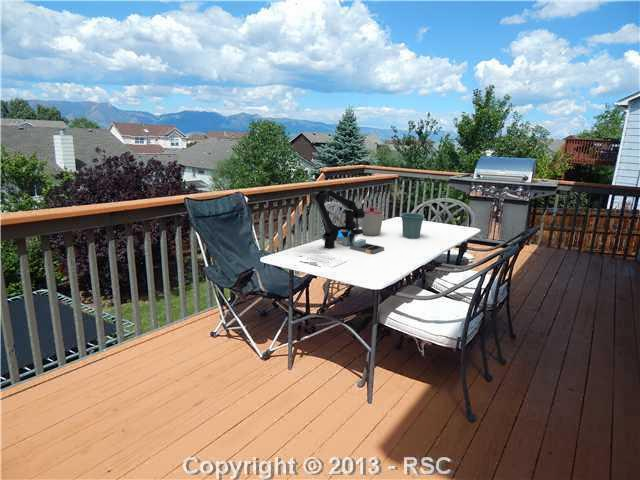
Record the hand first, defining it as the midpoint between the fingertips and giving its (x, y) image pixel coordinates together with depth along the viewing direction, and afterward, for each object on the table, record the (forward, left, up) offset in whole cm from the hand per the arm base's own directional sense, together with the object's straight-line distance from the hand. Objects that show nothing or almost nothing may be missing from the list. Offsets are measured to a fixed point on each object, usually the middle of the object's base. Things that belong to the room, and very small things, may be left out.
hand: (348, 242), depth 270 cm
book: (+14, +19, -3) cm, 24 cm away
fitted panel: (-2, -10, -1) cm, 11 cm away
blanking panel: (0, 0, -1) cm, 1 cm away
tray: (-37, -7, -3) cm, 37 cm away
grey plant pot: (+38, +8, -3) cm, 39 cm away
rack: (-2, -16, -2) cm, 16 cm away
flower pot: (+52, -18, -3) cm, 55 cm away
